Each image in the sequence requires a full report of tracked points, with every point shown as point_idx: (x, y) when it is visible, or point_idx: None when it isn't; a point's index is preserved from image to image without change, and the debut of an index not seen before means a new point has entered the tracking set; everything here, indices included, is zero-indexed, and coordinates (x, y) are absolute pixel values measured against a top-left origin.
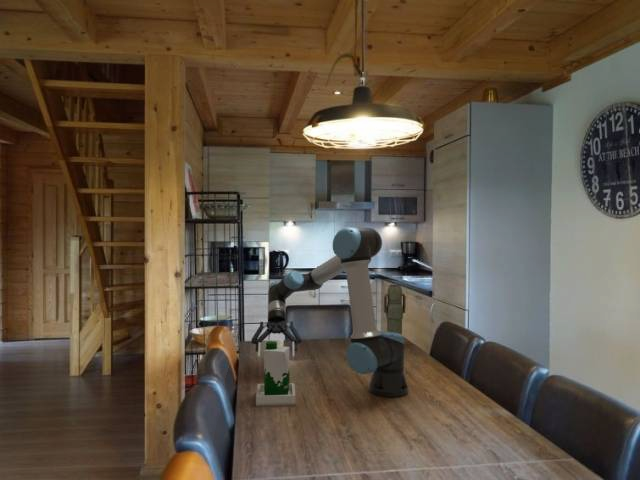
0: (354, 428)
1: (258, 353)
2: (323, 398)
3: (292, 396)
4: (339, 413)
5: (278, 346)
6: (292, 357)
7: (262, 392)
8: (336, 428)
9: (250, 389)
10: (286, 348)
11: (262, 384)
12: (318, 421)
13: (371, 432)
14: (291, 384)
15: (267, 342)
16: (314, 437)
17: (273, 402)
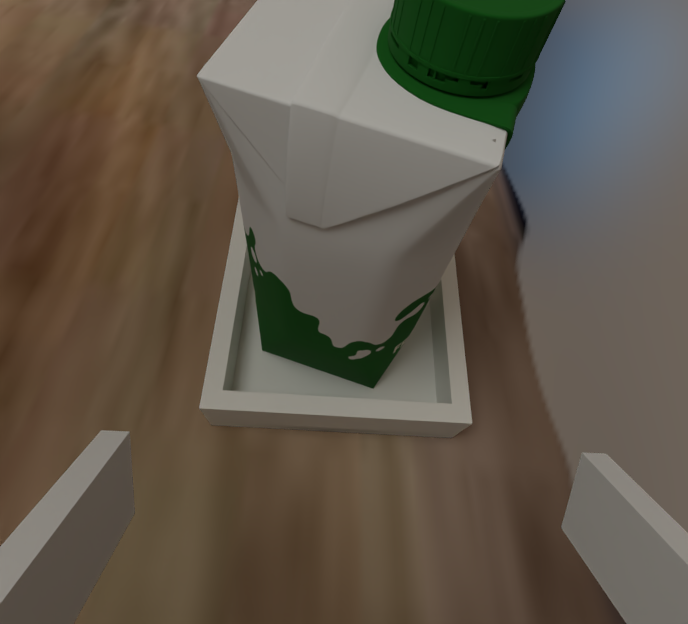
0: (76, 30)
1: (632, 483)
2: (59, 296)
3: None
4: (68, 128)
5: (363, 100)
6: (121, 535)
7: (422, 398)
8: (139, 40)
9: (513, 521)
10: (255, 23)
11: (438, 407)
12: (184, 87)
13: (35, 4)
14: (225, 390)
15: (552, 1)
16: (231, 12)
17: None
